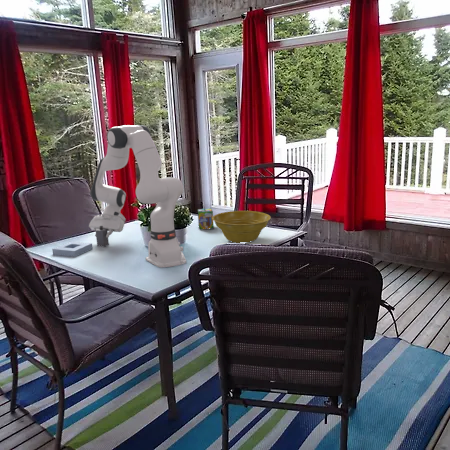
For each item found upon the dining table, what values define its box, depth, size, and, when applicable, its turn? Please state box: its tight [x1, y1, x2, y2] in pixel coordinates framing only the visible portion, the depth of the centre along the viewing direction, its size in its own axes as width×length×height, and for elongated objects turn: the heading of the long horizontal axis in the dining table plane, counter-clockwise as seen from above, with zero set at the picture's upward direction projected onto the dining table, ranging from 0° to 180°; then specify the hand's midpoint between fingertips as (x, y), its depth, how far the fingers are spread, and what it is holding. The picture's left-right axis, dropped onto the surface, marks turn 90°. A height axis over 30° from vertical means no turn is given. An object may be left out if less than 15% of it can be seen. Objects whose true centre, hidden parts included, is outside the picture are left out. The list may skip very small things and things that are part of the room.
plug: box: [95, 226, 110, 248], centre depth 227 cm, size 4×4×11 cm
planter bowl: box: [212, 210, 272, 244], centre depth 230 cm, size 32×32×13 cm
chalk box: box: [197, 204, 215, 230], centre depth 258 cm, size 9×9×15 cm
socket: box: [52, 241, 94, 258], centre depth 218 cm, size 14×14×3 cm
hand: (101, 237), depth 227 cm, fingers open, 5 cm apart
